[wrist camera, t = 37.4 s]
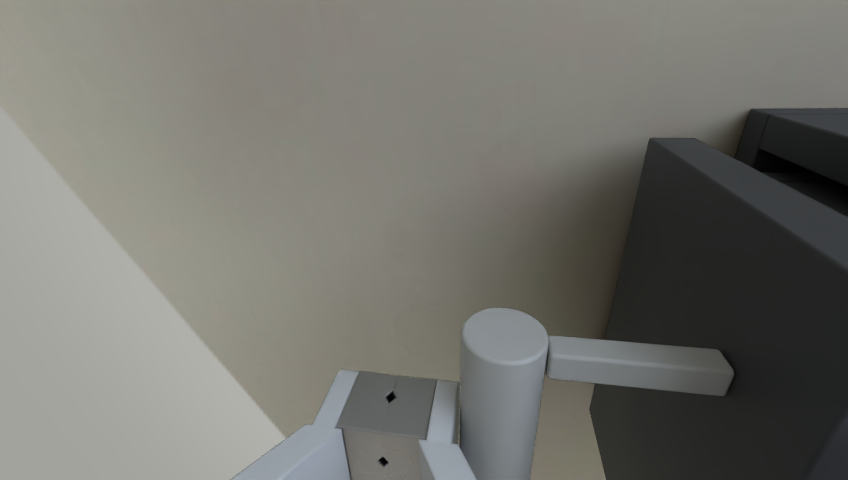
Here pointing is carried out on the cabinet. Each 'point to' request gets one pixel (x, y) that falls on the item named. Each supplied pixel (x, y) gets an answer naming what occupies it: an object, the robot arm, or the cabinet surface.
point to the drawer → (690, 335)
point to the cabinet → (797, 142)
